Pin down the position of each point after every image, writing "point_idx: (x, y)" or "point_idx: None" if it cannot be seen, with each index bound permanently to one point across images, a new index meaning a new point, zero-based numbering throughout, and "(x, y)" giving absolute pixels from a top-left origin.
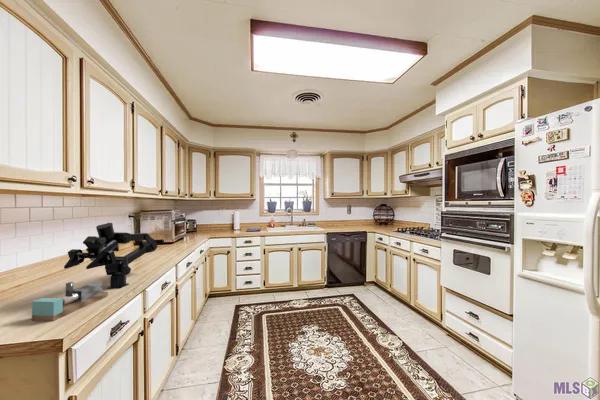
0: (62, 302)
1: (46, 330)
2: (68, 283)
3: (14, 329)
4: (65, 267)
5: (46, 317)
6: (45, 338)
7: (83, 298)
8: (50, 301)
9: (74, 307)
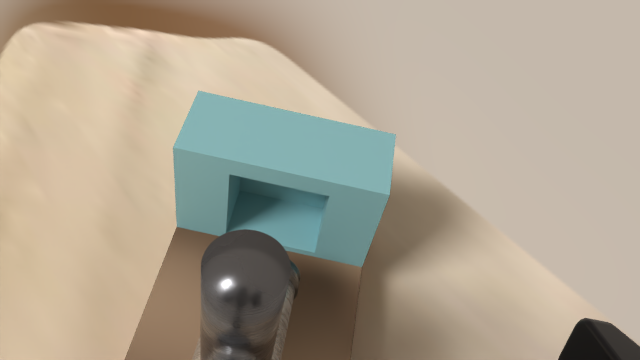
0: (175, 171)
1: (157, 102)
2: (245, 244)
3: None
4: (572, 349)
5: None
6: (104, 35)
7: None
8: (236, 105)
9: (138, 327)
